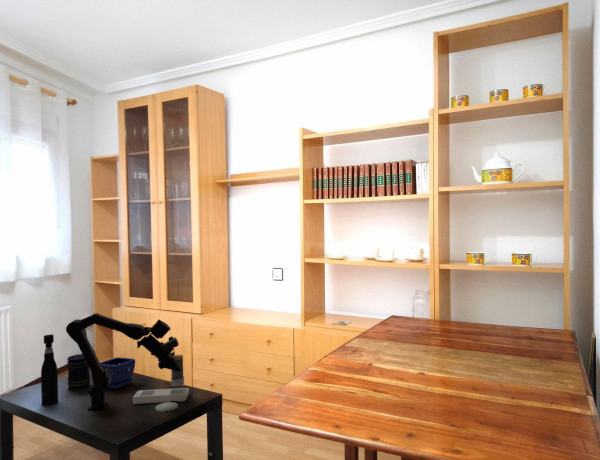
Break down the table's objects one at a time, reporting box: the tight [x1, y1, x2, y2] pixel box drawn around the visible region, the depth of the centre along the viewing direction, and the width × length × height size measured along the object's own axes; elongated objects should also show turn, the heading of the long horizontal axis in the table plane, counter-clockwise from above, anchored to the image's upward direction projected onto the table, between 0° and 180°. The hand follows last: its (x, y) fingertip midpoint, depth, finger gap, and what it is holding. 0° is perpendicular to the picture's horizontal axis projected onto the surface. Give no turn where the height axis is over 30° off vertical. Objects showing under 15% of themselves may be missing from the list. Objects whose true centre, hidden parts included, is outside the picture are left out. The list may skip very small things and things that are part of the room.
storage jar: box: [67, 353, 91, 392], centre depth 213 cm, size 10×10×15 cm
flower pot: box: [100, 357, 136, 390], centre depth 214 cm, size 13×13×12 cm
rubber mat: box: [155, 402, 179, 413], centre depth 183 cm, size 9×9×1 cm
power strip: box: [132, 387, 190, 405], centre depth 193 cm, size 8×22×3 cm, turn 94°
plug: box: [170, 354, 185, 387], centre depth 194 cm, size 6×6×12 cm
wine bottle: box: [40, 334, 59, 407], centre depth 192 cm, size 6×6×30 cm
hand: (180, 369), depth 194 cm, fingers closed on plug, 5 cm apart
